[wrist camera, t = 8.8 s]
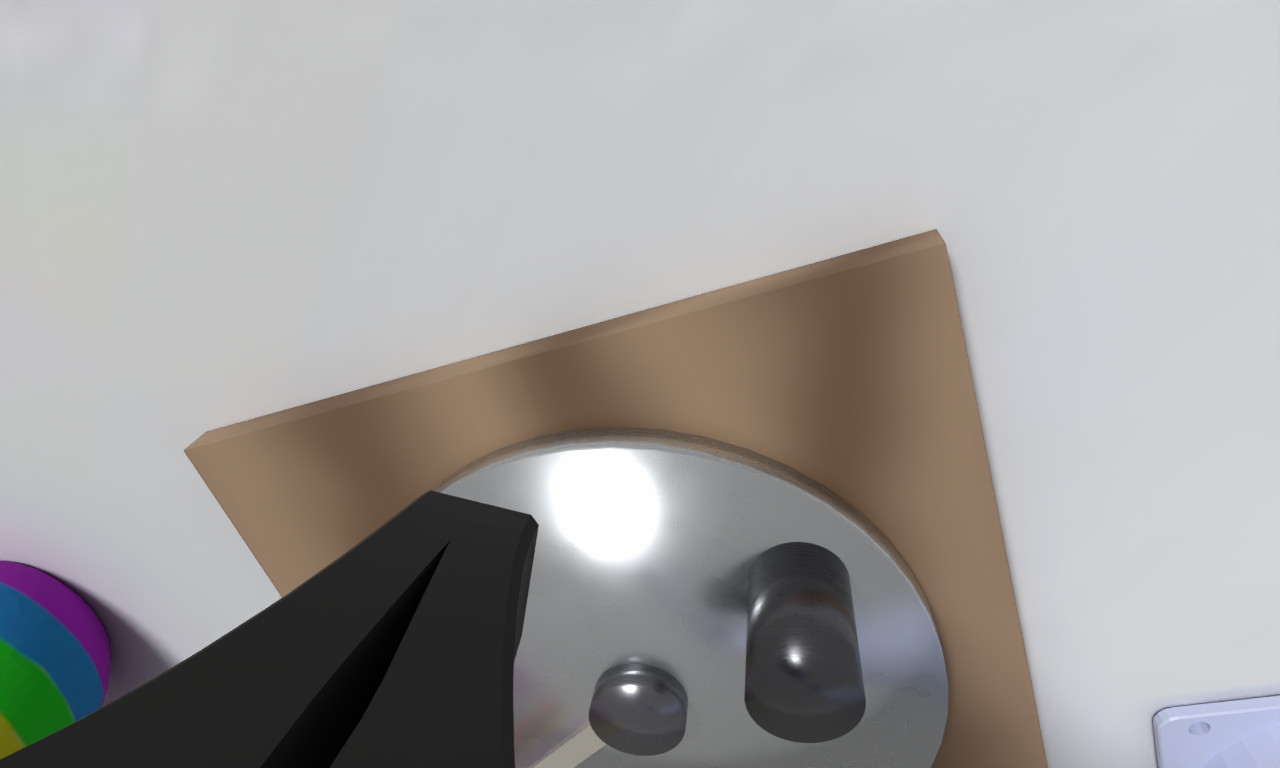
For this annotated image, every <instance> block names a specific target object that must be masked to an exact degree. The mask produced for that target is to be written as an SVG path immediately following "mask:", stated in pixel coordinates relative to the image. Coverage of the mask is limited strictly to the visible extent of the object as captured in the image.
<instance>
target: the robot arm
mask: <svg viewBox="0 0 1280 768" xmlns="http://www.w3.org/2000/svg"><path fill="white" fill-rule="evenodd" d="M538 527H539V525H538V523H537V522H536V521H535V519H534V518H533V517H532V515H530V514H526V513H522V512H518V511H514V510H510V509H506V508H501V507H497V506H493V505H489V504H485V503H481V502H477V501H472V500H468V499H464V498H460V497H456V496H452V495H448V494H443V493H439V492H435V491H431V490H430V491H428V492H426V493H425V494H423V495H421V496H420V497H418V498H417V499H416V500H414V501H413V502H412V503H410V504H409V505H408V506H407V507H405V508H404V509H403V510H401V511H400V512H399V513H398V514H396V515H395V516H394V517H392V518H391V519H390V520H388V521H387V522H386V523H385V524H383V525H382V526H381V527H379V528H378V529H377V530H375V531H374V532H373V533H371V534H370V535H369V536H367V537H366V538H365V539H363V540H362V541H361V542H359V543H358V544H357V545H355V546H354V547H353V548H351V549H350V550H349V551H347V552H346V553H345V554H343V555H342V556H341V557H339V558H338V559H336V560H335V561H334V562H332V563H331V564H329V565H328V566H327V567H325V568H324V569H322V570H321V571H319V572H318V573H317V574H315V575H314V576H312V577H311V578H310V579H308V580H307V581H305V582H304V583H302V584H301V585H300V586H298V587H297V588H295V589H294V590H293V591H291V592H290V593H288V594H287V595H285V596H284V597H283V598H281V599H280V600H278V601H277V602H275V603H274V604H272V605H271V606H269V607H268V608H266V609H265V610H263V611H262V612H260V613H258V614H257V615H255V616H254V617H252V618H251V619H249V620H247V621H246V622H244V623H243V624H241V625H240V626H238V627H237V628H235V629H233V630H232V631H230V632H229V633H227V634H226V635H224V636H222V637H221V638H219V639H218V640H216V641H215V642H213V643H211V644H210V645H208V646H207V647H205V648H204V649H202V650H201V651H199V652H197V653H196V654H194V655H192V656H191V657H189V658H187V659H186V660H184V661H182V662H181V663H179V664H177V665H176V666H174V667H172V668H171V669H169V670H167V671H166V672H164V673H162V674H160V675H159V676H157V677H155V678H154V679H152V680H150V681H148V682H147V683H145V684H143V685H141V686H140V687H138V688H136V689H134V690H133V691H131V692H129V693H127V694H125V695H123V696H122V697H120V698H118V699H116V700H114V701H112V702H111V703H109V704H107V705H105V706H103V707H101V708H100V709H98V710H96V711H94V712H92V713H91V714H89V715H87V716H85V717H83V718H81V719H79V720H77V721H76V722H74V723H72V724H70V725H68V726H66V727H64V728H62V729H60V730H58V731H56V732H54V733H52V734H50V735H48V736H46V737H44V738H42V739H40V740H38V741H36V742H34V743H32V744H30V745H28V746H26V747H24V748H22V749H20V750H18V751H16V752H14V753H12V754H10V755H8V756H6V757H4V758H2V759H0V768H515V752H514V712H513V676H514V661H515V657H516V654H517V650H518V647H519V644H520V640H521V637H522V631H523V624H524V618H525V611H526V605H527V599H528V592H529V586H530V579H531V573H532V566H533V560H534V553H535V547H536V540H537V534H538ZM1153 726H1154V735H1155V744H1156V752H1157V761H1158V768H1280V695H1279V696H1270V697H1261V698H1252V699H1243V700H1234V701H1225V702H1216V703H1206V704H1197V705H1188V706H1179V707H1171V708H1167V709H1164V710H1162V711H1160V712H1158V713H1157V715H1156V716H1155V717H1154V720H1153Z"/></svg>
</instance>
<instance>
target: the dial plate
mask: <svg viewBox="0 0 1280 768" xmlns="http://www.w3.org/2000/svg"><path fill="white" fill-rule="evenodd" d="M608 427H628V428H647V429H662V430H668V431H674V432H681V433H687V434H693V435H699V436H704V437H708V438H711V439H715V440H718V441H722V442H725V443H729V444H733V445H736V446H740V447H743V448H747V449H749V450H751V451H754V452H756V453H759V454H761V455H764V456H766V457H769V458H771V459H773V460H776V461H778V462H781V463H783V464H786V465H788V466H790V467H791V468H793V469H795V470H797V471H799V472H800V473H802V474H804V475H806V476H808V477H809V478H811V479H813V480H815V481H817V482H818V483H820V484H822V485H824V486H825V487H827V488H828V489H829V490H831V491H832V492H833V493H835V494H836V495H838V496H839V497H840V498H842V499H843V500H844V501H846V502H847V503H849V504H850V505H851V506H853V507H854V508H855V509H857V510H858V511H859V512H860V513H861V514H862V515H863V516H864V517H865V518H866V519H867V520H868V521H869V522H871V523H872V524H873V525H874V526H875V527H876V528H877V529H878V530H879V531H880V532H881V533H882V534H883V535H884V536H885V537H886V538H887V539H888V541H889V542H890V543H891V544H892V546H893V547H894V548H895V550H896V551H897V552H898V553H899V555H900V556H901V557H902V558H903V560H904V561H905V562H906V563H907V565H908V566H909V568H910V570H911V572H912V573H913V575H914V577H915V579H916V580H917V582H918V584H919V586H920V587H921V589H922V591H923V593H924V595H925V597H926V600H927V602H928V605H929V608H930V611H931V613H932V616H933V619H934V622H935V624H936V628H937V632H938V636H939V640H940V644H941V648H942V652H943V656H944V662H945V668H946V674H947V680H948V716H947V720H946V725H945V730H944V734H943V739H942V743H941V745H940V748H939V750H938V752H937V755H936V757H935V759H934V762H933V764H932V766H931V768H1047V763H1046V757H1045V752H1044V747H1043V742H1042V737H1041V732H1040V727H1039V721H1038V716H1037V711H1036V706H1035V701H1034V696H1033V691H1032V685H1031V680H1030V675H1029V670H1028V665H1027V660H1026V655H1025V650H1024V644H1023V639H1022V634H1021V629H1020V624H1019V619H1018V614H1017V608H1016V603H1015V598H1014V593H1013V588H1012V583H1011V578H1010V572H1009V567H1008V562H1007V557H1006V552H1005V547H1004V542H1003V536H1002V531H1001V526H1000V521H999V516H998V511H997V506H996V501H995V495H994V490H993V485H992V480H991V475H990V470H989V465H988V459H987V454H986V449H985V444H984V439H983V434H982V429H981V423H980V418H979V413H978V408H977V403H976V398H975V393H974V388H973V382H972V377H971V372H970V367H969V362H968V357H967V352H966V346H965V341H964V336H963V331H962V326H961V321H960V316H959V310H958V305H957V300H956V295H955V290H954V285H953V280H952V275H951V269H950V264H949V259H948V254H947V249H946V244H945V242H944V240H943V239H942V237H941V236H940V234H939V232H938V231H937V229H935V230H932V231H928V232H925V233H921V234H917V235H914V236H910V237H907V238H903V239H899V240H896V241H892V242H889V243H885V244H881V245H878V246H874V247H871V248H867V249H863V250H860V251H856V252H853V253H849V254H845V255H842V256H838V257H835V258H831V259H827V260H824V261H820V262H816V263H813V264H809V265H806V266H802V267H798V268H795V269H791V270H788V271H784V272H780V273H777V274H773V275H770V276H766V277H762V278H759V279H755V280H752V281H748V282H744V283H741V284H737V285H734V286H730V287H726V288H723V289H719V290H716V291H712V292H708V293H705V294H701V295H698V296H694V297H690V298H687V299H683V300H680V301H676V302H672V303H669V304H665V305H662V306H658V307H654V308H651V309H647V310H644V311H640V312H636V313H633V314H629V315H626V316H622V317H618V318H615V319H611V320H608V321H604V322H600V323H597V324H593V325H590V326H586V327H582V328H579V329H575V330H572V331H568V332H564V333H561V334H557V335H554V336H550V337H546V338H543V339H539V340H536V341H532V342H528V343H525V344H521V345H518V346H514V347H510V348H507V349H503V350H500V351H496V352H492V353H489V354H485V355H481V356H478V357H474V358H471V359H467V360H463V361H460V362H456V363H453V364H449V365H445V366H442V367H438V368H435V369H431V370H427V371H424V372H420V373H417V374H413V375H409V376H406V377H402V378H399V379H395V380H391V381H388V382H384V383H381V384H377V385H373V386H370V387H366V388H363V389H359V390H355V391H352V392H348V393H345V394H341V395H337V396H334V397H330V398H327V399H323V400H319V401H316V402H312V403H309V404H305V405H301V406H298V407H294V408H291V409H287V410H283V411H280V412H276V413H273V414H269V415H265V416H262V417H258V418H255V419H251V420H247V421H244V422H240V423H237V424H233V425H229V426H226V427H222V428H219V429H215V430H211V431H208V432H206V433H204V434H203V435H202V436H201V437H199V438H198V439H197V440H196V441H195V442H193V443H192V444H191V445H190V446H188V447H187V448H186V449H185V450H184V452H185V454H186V455H187V457H188V458H189V459H190V461H191V462H192V464H193V465H194V467H195V468H196V470H197V471H198V473H199V474H200V476H201V477H202V479H203V480H204V482H205V483H206V485H207V486H208V488H209V489H210V491H211V492H212V494H213V495H214V497H215V498H216V500H217V501H218V503H219V504H220V506H221V507H222V509H223V510H224V512H225V513H226V515H227V516H228V518H229V519H230V521H231V522H232V524H233V525H234V527H235V528H236V530H237V531H238V533H239V534H240V536H241V537H242V539H243V540H244V541H245V543H246V544H247V546H248V547H249V549H250V550H251V552H252V553H253V555H254V556H255V558H256V559H257V561H258V562H259V564H260V565H261V567H262V568H263V570H264V571H265V573H266V574H267V576H268V577H269V579H270V580H271V582H272V583H273V585H274V586H275V588H276V589H277V591H278V592H279V594H280V595H281V597H282V598H283V597H284V596H285V595H287V594H288V593H290V592H291V591H293V590H294V589H295V588H297V587H298V586H300V585H301V584H302V583H304V582H305V581H307V580H308V579H310V578H311V577H312V576H314V575H315V574H317V573H318V572H319V571H321V570H322V569H324V568H325V567H327V566H328V565H329V564H331V563H332V562H334V561H335V560H336V559H338V558H339V557H341V556H342V555H343V554H345V553H346V552H347V551H349V550H350V549H351V548H353V547H354V546H355V545H357V544H358V543H359V542H361V541H362V540H363V539H365V538H366V537H367V536H369V535H370V534H371V533H373V532H374V531H375V530H377V529H378V528H379V527H381V526H382V525H383V524H385V523H386V522H387V521H388V520H390V519H391V518H392V517H394V516H395V515H396V514H398V513H399V512H400V511H401V510H403V509H404V508H405V507H407V506H408V505H409V504H410V503H412V502H413V501H414V500H416V499H417V498H418V497H420V496H421V495H423V494H425V493H426V492H428V491H430V490H431V491H432V490H433V489H434V488H435V487H436V486H437V485H438V484H439V483H441V482H442V481H444V480H445V479H447V478H448V477H449V476H451V475H452V474H454V473H455V472H457V471H458V470H460V469H461V468H463V467H464V466H466V465H467V464H469V463H471V462H473V461H475V460H477V459H479V458H481V457H483V456H486V455H488V454H490V453H492V452H494V451H496V450H498V449H500V448H503V447H506V446H510V445H513V444H516V443H519V442H522V441H525V440H528V439H531V438H534V437H538V436H544V435H549V434H555V433H560V432H565V431H571V430H577V429H593V428H608Z"/></svg>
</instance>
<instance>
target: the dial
mask: <svg viewBox="0 0 1280 768" xmlns="http://www.w3.org/2000/svg"><path fill="white" fill-rule="evenodd" d="M432 491H435V492H439V493H443V494H448V495H452V496H456V497H460V498H464V499H468V500H472V501H477V502H481V503H485V504H489V505H493V506H497V507H501V508H506V509H510V510H514V511H518V512H522V513H526V514H530V515H532V517H533V518H534V519H535V521H536V522H537V523H538V525H539V527H538V534H537V540H536V547H535V553H534V560H533V566H532V573H531V579H530V586H529V592H528V599H527V605H526V611H525V618H524V624H523V631H522V637H521V640H520V644H519V647H518V650H517V654H516V657H515V661H514V676H513V712H514V752H515V768H931V766H932V764H933V762H934V759H935V757H936V755H937V752H938V750H939V748H940V745H941V743H942V739H943V734H944V730H945V725H946V720H947V716H948V680H947V674H946V668H945V662H944V656H943V652H942V648H941V644H940V640H939V636H938V632H937V628H936V624H935V622H934V619H933V616H932V613H931V611H930V608H929V605H928V602H927V600H926V597H925V595H924V593H923V591H922V589H921V587H920V586H919V584H918V582H917V580H916V579H915V577H914V575H913V573H912V572H911V570H910V568H909V566H908V565H907V563H906V562H905V561H904V560H903V558H902V557H901V556H900V555H899V553H898V552H897V551H896V550H895V548H894V547H893V546H892V544H891V543H890V542H889V541H888V539H887V538H886V537H885V536H884V535H883V534H882V533H881V532H880V531H879V530H878V529H877V528H876V527H875V526H874V525H873V524H872V523H871V522H869V521H868V520H867V519H866V518H865V517H864V516H863V515H862V514H861V513H860V512H859V511H858V510H857V509H855V508H854V507H853V506H851V505H850V504H849V503H847V502H846V501H844V500H843V499H842V498H840V497H839V496H838V495H836V494H835V493H833V492H832V491H831V490H829V489H828V488H827V487H825V486H824V485H822V484H820V483H818V482H817V481H815V480H813V479H811V478H809V477H808V476H806V475H804V474H802V473H800V472H799V471H797V470H795V469H793V468H791V467H790V466H788V465H786V464H783V463H781V462H778V461H776V460H773V459H771V458H769V457H766V456H764V455H761V454H759V453H756V452H754V451H751V450H749V449H747V448H743V447H740V446H736V445H733V444H729V443H725V442H722V441H718V440H715V439H711V438H708V437H704V436H699V435H693V434H687V433H681V432H674V431H668V430H662V429H647V428H628V427H608V428H593V429H577V430H571V431H565V432H560V433H555V434H549V435H544V436H538V437H534V438H531V439H528V440H525V441H522V442H519V443H516V444H513V445H510V446H506V447H503V448H500V449H498V450H496V451H494V452H492V453H490V454H488V455H486V456H483V457H481V458H479V459H477V460H475V461H473V462H471V463H469V464H467V465H466V466H464V467H463V468H461V469H460V470H458V471H457V472H455V473H454V474H452V475H451V476H449V477H448V478H447V479H445V480H444V481H442V482H441V483H439V484H438V485H437V486H436V487H435V488H434V489H433V490H432Z"/></svg>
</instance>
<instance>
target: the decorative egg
mask: <svg viewBox="0 0 1280 768" xmlns="http://www.w3.org/2000/svg"><path fill="white" fill-rule="evenodd" d="M110 659H111V658H110V647H109V640H108V637H107V634H106V631H105V629H104V627H103V625H102V624H101V622H100V620H99V619H98V617H97V615H96V614H95V612H94V611H93V610H92V609H91V608H90V607H89V606H88V605H87V604H86V603H85V601H84V600H83V599H82V598H81V597H80V596H79V595H77V594H76V593H75V592H73V591H72V590H71V589H70V588H68V587H67V586H65V585H64V584H63V583H61V582H60V581H58V580H56V579H55V578H53V577H51V576H49V575H47V574H46V573H44V572H42V571H40V570H38V569H35V568H32V567H29V566H26V565H22V564H19V563H14V562H9V561H0V759H2V758H4V757H6V756H8V755H10V754H12V753H14V752H16V751H18V750H20V749H22V748H24V747H26V746H28V745H30V744H32V743H34V742H36V741H38V740H40V739H42V738H44V737H46V736H48V735H50V734H52V733H54V732H56V731H58V730H60V729H62V728H64V727H66V726H68V725H70V724H72V723H74V722H76V721H77V720H79V719H81V718H83V717H85V716H87V715H89V714H91V713H92V712H94V711H96V710H98V709H100V708H101V707H102V704H103V701H104V698H105V694H106V690H107V686H108V681H109V673H110Z"/></svg>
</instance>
